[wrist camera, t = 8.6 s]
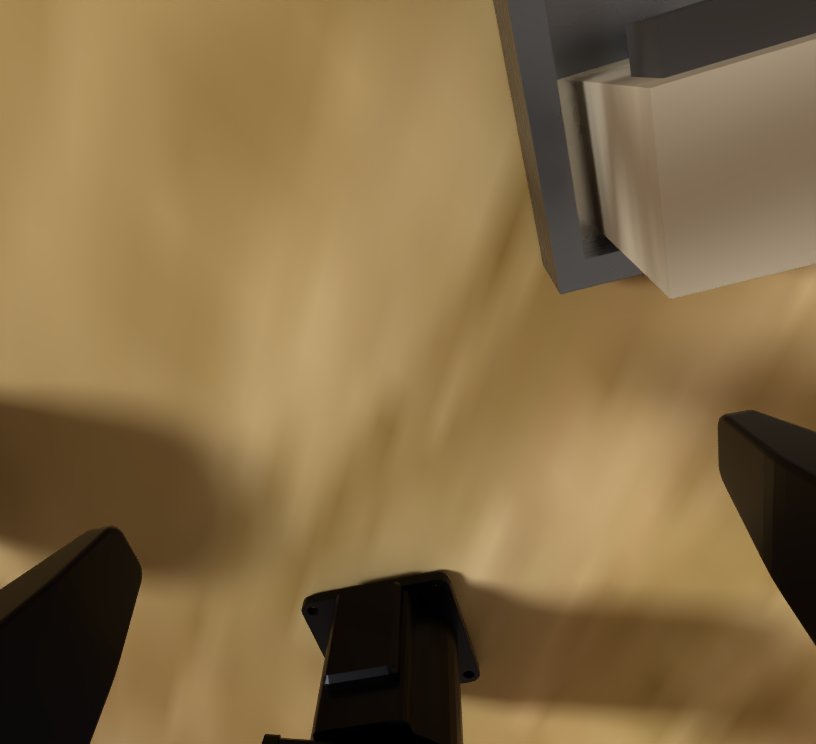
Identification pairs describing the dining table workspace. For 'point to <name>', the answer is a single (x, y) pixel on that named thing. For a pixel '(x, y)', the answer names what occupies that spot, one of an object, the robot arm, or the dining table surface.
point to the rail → (566, 121)
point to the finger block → (708, 143)
